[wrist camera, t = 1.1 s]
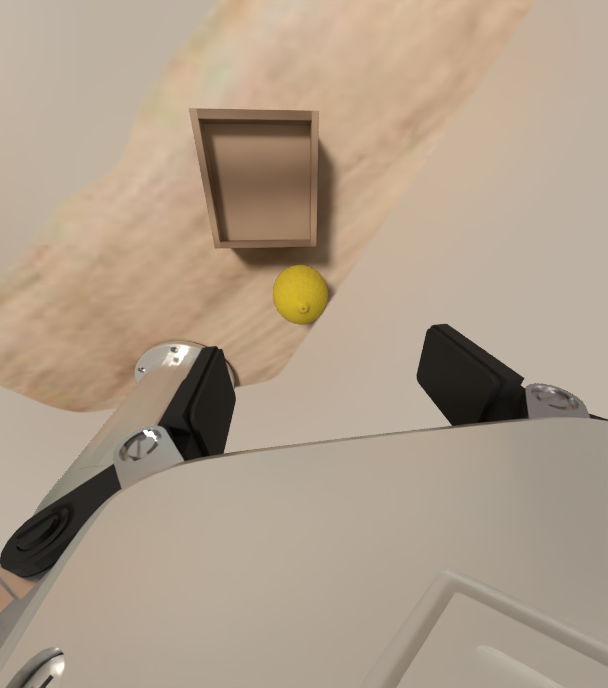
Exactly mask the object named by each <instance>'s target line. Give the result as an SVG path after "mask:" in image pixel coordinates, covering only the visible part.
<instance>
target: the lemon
mask: <svg viewBox="0 0 608 688" xmlns="http://www.w3.org/2000/svg"><path fill="white" fill-rule="evenodd" d="M273 299H274V304H275V306H276V308H277V310H278V312H279V313H280V314H281V315H282V317H284V318H285V319H286V320H288V321H290V322H292V323H295V324H307V323H310V322H313V321H314V320H316V319H317V318H318V317H320V316H321V315H322V313H323V312H324V310H325V308H326V305H327V302H328V289H327V285H326V282H325V280H324V278H323V277H322V276H321V275H320V273H319V272H318V271H316V270H315V269H313V268H312V267H309V266H306V265H295V266H291V267H289V268H287V269H285V270H284V271H283V272H282V273H280V275H279V276H278V278H277V279H276V281H275V284H274V287H273Z"/></svg>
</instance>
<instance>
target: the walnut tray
mask: <svg viewBox="0 0 608 688" xmlns="http://www.w3.org/2000/svg"><path fill="white" fill-rule="evenodd" d="M189 112H190V117H191V123H192V128H193V133H194V139H195V144H196V149H197V155H198V160H199V165H200V171H201V176H202V181H203V187H204V192H205V197H206V203H207V208H208V213H209V219H210V224H211V229H212V235H213V240H214V245H215V248H264V247H316V235H317V182H318V129H319V111H295V110H244V109H193V108H189Z"/></svg>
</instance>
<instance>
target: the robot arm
mask: <svg viewBox="0 0 608 688" xmlns="http://www.w3.org/2000/svg"><path fill="white" fill-rule="evenodd" d="M135 380H136V384H137V385H136V386H135V387H134V388H133V390H132V391H131V392H130V393H129V395H128V396H127V397H126V398H125V399H124V401H123V402H122V403H121V404H120V406H119V407H118V408H117V409H116V411H115V412H114V413H113V414H112V416H111V417H110V418H109V419H108V420H107V422H106V423H105V424H104V425H103V427H102V428H101V429H100V430H99V431H98V433H97V434H96V435H95V436H94V438H93V439H92V440H91V441H90V443H89V444H88V445H87V446H86V447H85V449H84V450H83V451H82V452H81V454H80V455H79V456H78V458H77V459H76V460H75V461H74V462H73V463H72V465H71V466H70V467H69V468H68V470H67V471H66V472H65V473H64V475H63V476H62V477H61V478H60V479H59V480H58V481H57V483H56V484H55V485H54V486H53V488H52V489H51V490H50V491H49V493H48V494H47V495H46V496H45V498H44V499H43V500H42V502H41V503H40V505H39V506H38V508H37V509H36V511H35V513H34V515H33V517H31V518H30V519H29V520H27V521H26V522H25V523H24V524H23V525H22V526H21V527H20V528H19V529H18V530H17V531H16V532H15V533H14V534H13V535H12V537H11V538H10V539H9V540H8V542H7V543H6V545H5V547H4V549H3V551H2V553H1V557H0V688H608V419H604V418H601V417H598V416H595V415H592V414H589V413H588V411H587V409H586V406H585V405H584V403H583V402H582V401H581V400H580V399H579V398H578V397H576V396H575V395H573V394H571V393H570V392H568V391H566V390H563V389H561V388H558V387H555V386H552V385H547V384H539V383H538V384H536V383H534V384H530V385H528V386H526V388H523V387H522V386H521V383H522V381H523V380H524V378H523V377H522V376H520V375H519V374H517V373H516V372H515V371H513V370H512V369H510V368H509V367H507V366H506V365H505V364H503V363H502V362H500V361H499V360H497V359H496V358H495V357H493V356H492V355H490V354H489V353H487V352H486V351H485V350H483V349H482V348H481V347H479V346H478V345H476V344H475V343H473V342H472V341H471V340H469V339H468V338H466V337H465V336H463V335H462V334H460V333H459V332H458V331H456V330H455V329H453V328H452V327H450V326H449V325H448V324H439V325H433V326H431V328H430V329H428V330H427V332H426V336H425V341H424V345H423V350H422V354H421V359H420V363H419V367H418V371H417V381H418V382H419V384H420V385H421V387H422V388H423V389H424V390H425V392H426V393H427V394H428V396H429V397H430V398H431V399H432V401H433V402H434V403H435V404H436V406H437V407H438V408H439V410H440V411H441V412H442V413H443V415H444V416H445V417H446V418H447V420H448V421H449V422H450V424H451V425H452V426H448V427H439V428H430V429H420V430H411V431H404V432H394V433H385V434H378V435H368V436H360V437H351V438H343V439H334V440H326V441H318V442H310V443H302V444H294V445H285V446H278V447H269V448H261V449H254V450H247V451H240V452H232V453H225V454H224V449H225V445H226V440H227V436H228V432H229V427H230V423H231V419H232V415H233V411H234V406H235V401H236V397H235V392H234V388H235V379H234V374H233V372H232V370H231V368H230V366H229V365H228V363H227V362H226V360H225V357H224V353H223V350H222V349H218V347H217V346H213V347H205V346H203V345H200V344H196V343H193V342H187V341H169V342H163V343H161V344H158V345H155V346H154V347H152V348H150V349H149V350H148V351H147V352H146V353H145V354H144V355H143V356H142V357H141V358H140V359H139V361H138V362H137V365H136V367H135Z"/></svg>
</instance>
